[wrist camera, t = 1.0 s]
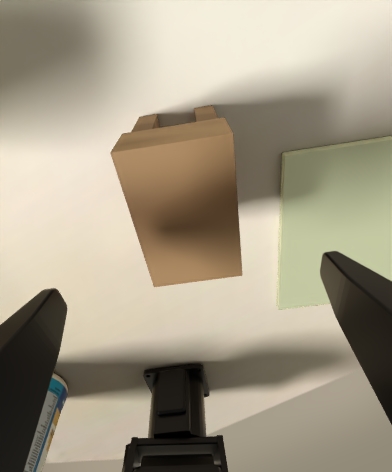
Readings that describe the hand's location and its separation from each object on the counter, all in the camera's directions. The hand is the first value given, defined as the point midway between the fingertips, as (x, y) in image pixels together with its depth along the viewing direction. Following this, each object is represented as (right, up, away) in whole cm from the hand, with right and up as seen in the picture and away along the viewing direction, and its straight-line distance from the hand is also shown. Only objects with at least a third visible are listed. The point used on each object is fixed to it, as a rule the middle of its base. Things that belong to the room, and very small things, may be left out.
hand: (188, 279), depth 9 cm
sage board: (+13, +2, +11) cm, 18 cm away
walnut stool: (0, +6, +8) cm, 10 cm away
